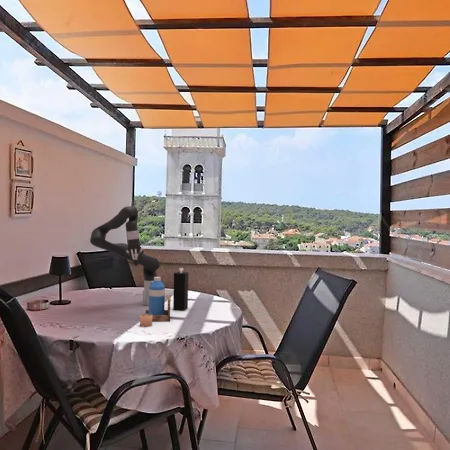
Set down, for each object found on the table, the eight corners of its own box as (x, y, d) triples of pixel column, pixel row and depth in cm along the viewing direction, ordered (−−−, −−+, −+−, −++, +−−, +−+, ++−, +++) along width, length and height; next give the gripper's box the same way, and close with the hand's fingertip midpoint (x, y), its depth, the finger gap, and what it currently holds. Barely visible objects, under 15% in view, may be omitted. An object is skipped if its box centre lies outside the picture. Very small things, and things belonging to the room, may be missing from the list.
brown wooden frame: (145, 321, 252) (145, 300, 251) (145, 315, 266) (146, 295, 266) (170, 321, 254) (170, 299, 254) (169, 315, 269) (169, 295, 268)
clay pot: (137, 325, 243) (137, 315, 243) (145, 323, 249) (145, 312, 249) (146, 327, 239) (146, 316, 239) (154, 324, 245) (154, 314, 245)
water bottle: (164, 319, 258) (165, 278, 257) (148, 319, 256) (149, 278, 255) (163, 315, 267) (164, 276, 266) (148, 316, 265) (149, 276, 265)
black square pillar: (184, 311, 282) (185, 268, 281) (172, 310, 283) (173, 268, 282) (187, 308, 289) (188, 267, 288) (176, 307, 291) (177, 266, 290)
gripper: (120, 239, 262) (124, 267, 264) (142, 237, 262) (145, 265, 263) (123, 238, 269) (127, 265, 271) (144, 236, 269) (147, 263, 271)
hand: (136, 265), depth 267 cm, fingers closed
